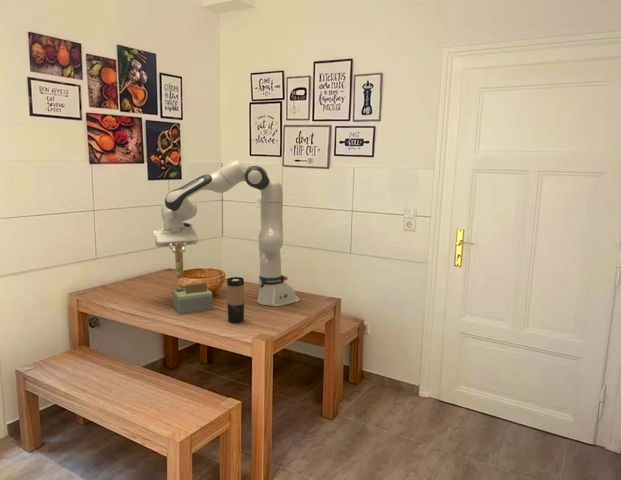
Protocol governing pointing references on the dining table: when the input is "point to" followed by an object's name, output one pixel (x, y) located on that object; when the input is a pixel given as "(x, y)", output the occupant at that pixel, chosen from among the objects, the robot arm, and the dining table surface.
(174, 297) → the grey open box
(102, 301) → the dining table surface
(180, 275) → the wooden key
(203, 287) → the lid
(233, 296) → the travel mug
